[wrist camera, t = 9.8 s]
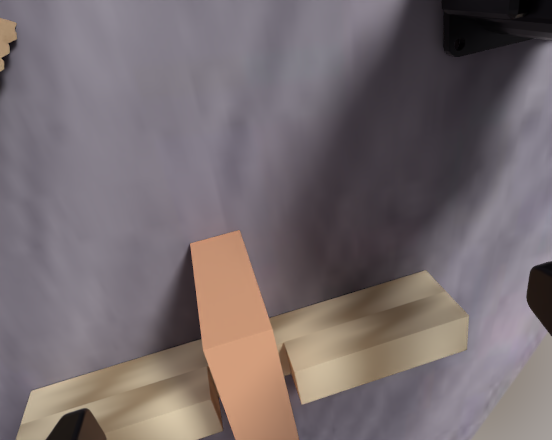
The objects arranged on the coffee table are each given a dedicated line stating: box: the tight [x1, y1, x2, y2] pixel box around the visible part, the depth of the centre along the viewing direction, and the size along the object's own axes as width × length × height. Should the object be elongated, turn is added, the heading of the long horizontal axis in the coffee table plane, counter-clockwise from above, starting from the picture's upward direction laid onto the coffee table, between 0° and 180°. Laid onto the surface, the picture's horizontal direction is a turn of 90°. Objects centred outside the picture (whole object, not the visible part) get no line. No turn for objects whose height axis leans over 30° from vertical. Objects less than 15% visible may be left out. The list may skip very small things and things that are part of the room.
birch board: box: [16, 270, 469, 440], centre depth 22 cm, size 22×2×4 cm, turn 101°
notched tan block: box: [190, 230, 299, 440], centre depth 21 cm, size 14×2×7 cm, turn 11°
